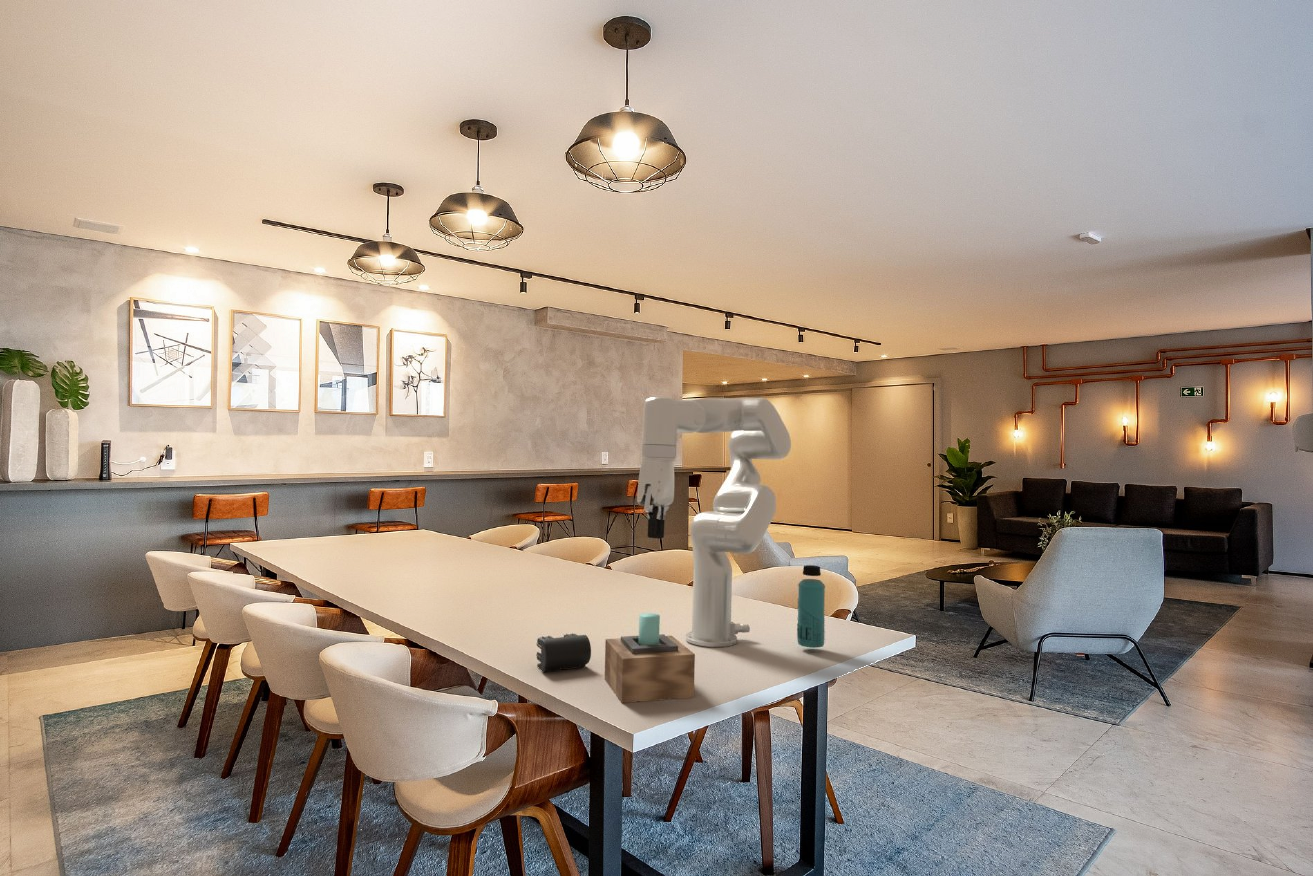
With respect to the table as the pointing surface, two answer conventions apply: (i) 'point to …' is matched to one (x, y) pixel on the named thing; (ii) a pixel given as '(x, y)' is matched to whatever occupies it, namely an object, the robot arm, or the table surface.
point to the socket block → (649, 669)
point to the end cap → (563, 652)
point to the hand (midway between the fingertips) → (655, 537)
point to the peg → (649, 629)
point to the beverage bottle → (811, 609)
